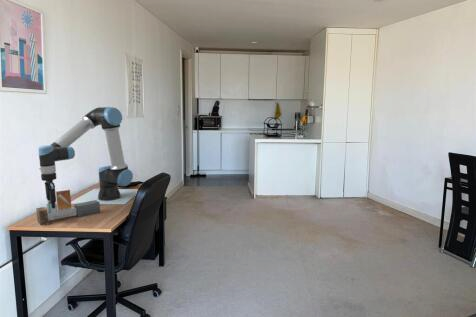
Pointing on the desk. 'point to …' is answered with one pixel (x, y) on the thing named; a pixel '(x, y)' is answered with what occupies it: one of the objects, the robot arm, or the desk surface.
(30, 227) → the desk surface
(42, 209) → the socket
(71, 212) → the teal-ended white column
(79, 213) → the grey rectangular block
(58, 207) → the small box
